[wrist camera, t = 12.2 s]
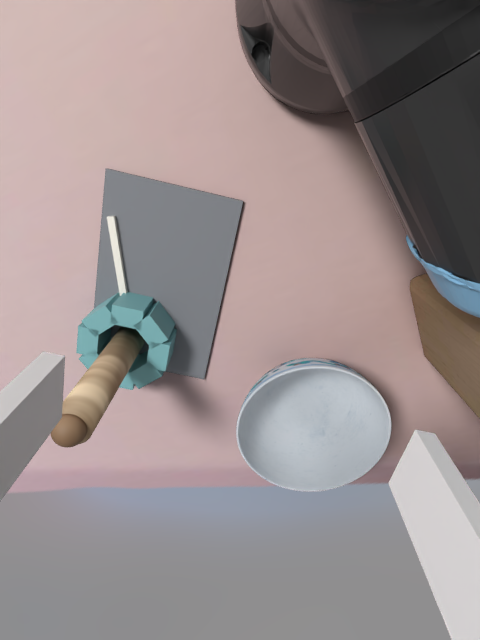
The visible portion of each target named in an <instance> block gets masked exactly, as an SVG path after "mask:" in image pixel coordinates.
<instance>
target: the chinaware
mask: <svg viewBox="0 0 480 640" xmlns="http://www.w3.org/2000/svg"><path fill="white" fill-rule="evenodd" d="M390 435H391V417H390V412H389V409H388V406H387V404H386V402H385V400H384V399H383V397H382V396H381V394H380V393H379V392H378V390H377V389H376V388H375V387H374V386H373V385H372V384H371V383H370V382H369V381H368V380H367V379H365V378H364V377H363V376H362V375H360V374H359V373H358V372H356V371H354V370H353V369H351V368H349V367H347V366H345V365H343V364H341V363H338V362H335V361H332V360H328V359H322V358H301V359H295V360H292V361H288V362H285V363H283V364H281V365H279V366H277V367H275V368H273V369H272V370H270V371H269V372H267V373H266V374H265V375H264V376H263V377H261V378H260V379H259V380H258V382H257V383H256V384H255V385H254V386H253V388H252V389H251V390H250V392H249V393H248V395H247V397H246V399H245V401H244V403H243V405H242V408H241V410H240V413H239V416H238V420H237V427H236V436H237V443H238V447H239V450H240V452H241V454H242V456H243V458H244V460H245V461H246V463H247V464H248V465H249V466H250V468H251V469H252V470H253V471H254V472H256V473H257V474H258V475H259V476H261V477H262V478H263V479H265V480H267V481H269V482H270V483H272V484H275V485H277V486H280V487H283V488H286V489H291V490H296V491H307V492H308V491H309V492H314V491H324V490H330V489H334V488H338V487H341V486H344V485H346V484H349V483H351V482H353V481H355V480H356V479H358V478H360V477H361V476H363V475H364V474H366V473H367V472H368V471H369V470H370V469H371V468H373V467H374V466H375V464H376V463H377V462H378V461H379V460H380V458H381V457H382V455H383V454H384V452H385V450H386V448H387V446H388V443H389V440H390Z"/></svg>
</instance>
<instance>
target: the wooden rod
mask: <svg viewBox="0 0 480 640" xmlns="http://www.w3.org/2000/svg"><path fill="white" fill-rule="evenodd" d="M144 343H145V340H144V338H143V337H142V336H141V335H140V333H139V332H138V331H137V330H136V329H133V328H128V327H124V326H121V327H120V329H119V330H118V331H117V333H116V334H115V335H114V337H113V338H112V339H111V340H110V342H109V343H108V344H107V346H106V347H105V348H104V350H103V351H102V352H101V353H100V355H99V356H98V357H97V359H96V360H95V361H94V362H93V364H92V365H91V366H90V368H89V369H88V370H87V372H86V373H85V374H84V375H83V377H82V378H81V379H80V381H79V382H78V383H77V385H76V386H75V387H74V388H73V390H72V391H71V392H70V394H69V395H68V396H67V397H66V399H65V400H64V401H63V406H62V418H61V419H60V421H59V422H58V424H57V425H56V426H55V428H54V429H53V430H52V432H51V437H52V439H53V441H54V442H55V443H56V444H58V445H59V446H62V447H73V446H76V445H78V444H81V443H84V442H86V441H87V440H88V439H89V438H90V437H91V435H92V433H93V431H94V430H95V428H96V426H97V424H98V423H99V421H100V419H101V418H102V416H103V414H104V412H105V411H106V409H107V407H108V405H109V404H110V402H111V400H112V399H113V397H114V395H115V393H116V392H117V390H118V388H119V386H120V385H121V383H122V381H123V380H124V378H125V376H126V374H127V373H128V371H129V369H130V367H131V366H132V364H133V362H134V360H135V359H136V357H137V355H138V354H139V352H140V350H141V348H142V347H143V345H144Z"/></svg>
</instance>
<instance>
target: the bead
mask: <svg viewBox="0 0 480 640" xmlns="http://www.w3.org/2000/svg"><path fill="white" fill-rule="evenodd" d="M152 303H153V297H149V296H144V295H140V294H135V293H131V292H127V293H123V294H122V295H121V296H120V293H119V292H118V293H117V294H115V295H114V296H112V297H110V298H109V299H107V300H106V301H104V302H103V303H101V304H100V305H98V306H97V307H96V308H94V309H93V310H92V311H91V312H90V313H89V314H88V315H87V316H86V317H85V318H84V319H83V320H82V323H81V324H80V325H79V326H78V339H77V353H79V354H82V356H81V357H80V358H79V360H80V361H81V362H82V363H83V364H84V365H85V367H86V368H87V369H89V368H90V366H91V365H92V364H93V362H94V361H95V360H96V359H97V357H98V356H99V355H100V353H101V352H102V351H103V350H104V348H105V347H106V346H107V344H108V343H109V342H110V340H111V339H112V337H111V336H110V335H111V327H112V326H114V325H119V326H124V327H128V328H133V329H136V330H137V331H138V332H139V333H140V335H141V336H142V337H143V338H144V340H145V341H146V342H147V343H148V345H149V350H147V351H146V352H144V353H142V354H138V355H137V357H136V359H135V360H134V362H133V364H132V366H131V367H130V369H129V371H128V373H127V374H126V376H125V378H124V380H123V381H122V383H121V385H120V386H119V387H121V388H125V389H130V390H133V388H134V386H135V385H136V386H137V387H138V389H140V388H142V387H144V386H145V385H147V384H149V383H151V382H152V381H154V380H156V379H158V378H160V377H161V376H162V375H163V373H164V371H166V369H167V366H168V364H169V361H170V359H171V356H172V354H173V349H174V344H175V338H176V332H177V329H174V326H175V324H176V323H175V322H174V321H173V319H172V318H171V317H170V315H169V314H168V313H167V311H166V310H165V309H164V307H163V306H162V305H161V303H160V302H159V301H158V302H156V303H155V304H153V305H152Z"/></svg>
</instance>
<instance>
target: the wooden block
mask: <svg viewBox="0 0 480 640" xmlns="http://www.w3.org/2000/svg"><path fill="white" fill-rule="evenodd" d="M410 292H411V297H412V301H413V306H414V310H415V315H416V319H417V324H418V328H419V333H420V337H421V342H422V346H423V351H424V355H425V357H426V358H427V359H428V360H429V361H430V362H431V364H432V365H433V366H434V367H435V368H436V369H437V370H438V372H439V373H440V374H441V375H442V376H443V377H444V378H445V380H446V381H447V382H448V383H449V384H450V385H451V386H452V388H453V389H454V390H455V391H456V392H457V393H458V394H459V396H460V397H461V398H462V399H463V400H464V401H465V402H466V404H467V405H468V406H469V407H470V408H471V409H472V410H473V412H474V413H475V414H476V415H477V416H478V417H479V418H480V318H479V317H476V316H473V315H471V314H468V313H466V312H464V311H462V310H460V309H459V308H457V307H455V306H454V305H453V304H452V303H450V302H449V301H448V300H447V299H446V298H444V297H443V296H442V295H441V294H440V293H439V292H438V291H437V289H436V288H435V286H434V285H433V283H432V281H431V279H430V277H429V276H428V274H427V273H426V274H423V275H420V276H417V277H415V278H413V279H412V280H411V282H410Z"/></svg>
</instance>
